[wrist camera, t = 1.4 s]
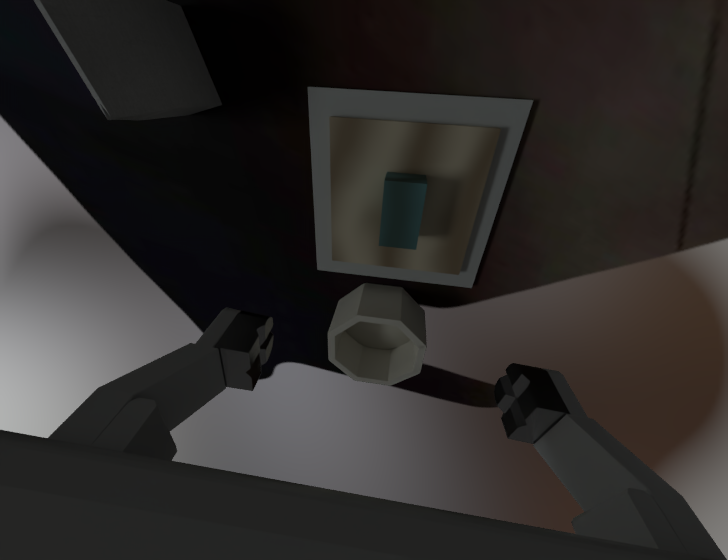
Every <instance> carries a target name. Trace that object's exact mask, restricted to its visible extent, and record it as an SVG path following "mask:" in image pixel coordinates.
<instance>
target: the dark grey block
mask: <svg viewBox="0 0 728 560" xmlns="http://www.w3.org/2000/svg"><path fill="white" fill-rule="evenodd" d="M34 2H35V3H36V5H37V6H38V8H39V10H40V11H41V13H42V14H43V16H44V18H45V19H46V21H47V23H48V24H49V26H50V27H51V29H52V31H53V32H54V34H55V35H56V37H57V39H58V40H59V42H60V44H61V45H62V47H63V48H64V50H65V52H66V53H67V55H68V56H69V58H70V60H71V61H72V63H73V65H74V66H75V68H76V69H77V71H78V73H79V74H80V76H81V77H82V79H83V81H84V82H85V84H86V86H87V87H88V89H89V90H90V92H91V94H92V95H93V97H94V98H95V100H96V102H97V103H98V105H99V107H100V108H101V110H102V111H103V113H104V115H105V116H106V118H107V119H108V120H148V119H157V118H166V117H175V116H184V115H191V114H194V113H197V112H200V111H204V110H207V109H210V108H214V107H217V106H220V105H222V103H221V100H220V98H219V96H218V93H217V91H216V89H215V86H214V84H213V81H212V79H211V77H210V74H209V72H208V69H207V67H206V65H205V62H204V60H203V58H202V55H201V53H200V50H199V48H198V46H197V43H196V41H195V38H194V36H193V34H192V31H191V29H190V27H189V24H188V22H187V19H186V17H185V15H184V12H183V10H182V7H181V6H179V5H177V4H174V3H171V2H168V1H166V0H34Z"/></svg>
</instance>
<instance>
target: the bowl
mask: <svg viewBox="0 0 728 560" xmlns="http://www.w3.org/2000/svg"><path fill="white" fill-rule="evenodd" d="M426 347H427V346H426V328H425V312H424V310H423V309H422V308H421V307H420V306H419V305H418V304H417V303H416V301H415V300H414V299H413V298H412V297H411V296H410V295H409V294H408V293H407V292H406V291H405V290H404V289H403V288H402V287H395V286H387V285H379V284H370V283H364V284H362V285H361V286H360V287H358V288H357V289H355V290H354V291H352V292H351V293H349V294H348V295H346V296H345V297H343V298H342V299H340V300H339V302H338V305H337V308H336V311H335V314H334V317H333V320H332V322H331V325H330V328H329V331H328V354H329V361H331V362H332V363H333V364H334V365H336V366H337V367H338V368H339V369H341V370H342V371H343V372H344V373H346V374H347V375H348V376H349V377H351V378H352V379H353V380H355V381H362V382H368V383H375V384H381V385H388V386H391V385H393V384H395V383H398V382H400V381H403V380H405V379H407V378H410V377H412V376H415V375H417V374H419V373H420V371H421V367H422V363H423V359H424V355H425V351H426Z"/></svg>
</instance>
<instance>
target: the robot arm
mask: <svg viewBox="0 0 728 560" xmlns="http://www.w3.org/2000/svg"><path fill="white" fill-rule="evenodd" d="M272 326H273V319H272V318H271V317H269V316H264V315H259V314H255V313H250V312H246V311H240V310H235V309H230V308H225V309H223V310H222V311H221V312H220V313H219V315H218V316H217V317H216V319H215V320H214V321H213V322H212V324H211V325H210V326H209V327H208V329H207V330H206V331H205V332H204V334H203V335H202V336H201V337H200V339H199V340H198V341H197V343H196V344H192V343H190V344H188V345H186V346H184V347H182V348H180V349H178V350H175V351H173V352H172V353H169V354H167V355H165V356H163V357H161V358H159V359H157V360H155V361H153V362H151V363H149V364H147V365H144V366H142V367H140V368H138V369H136V370H134V371H132V372H130V373H128V374H126V375H124V376H122V377H120V378H118V379H116V380H114V381H111V382H109V383H107V384H105V385H103V386H101V387H99V388H98V389H96V391H94V393H92V395H91V396H90V397H89V398H87V399H86V400H85V402H83V403H82V404H81V405H80V406H79V408H77V409H76V410H75V412H74V413H73V414H71V416H69V417H68V419H66V421H65V422H63V424H61V425H60V426H59V427H58V428H57V430H55V431H54V432H53V434H51V435H50V437H49V438H42V437H37V436H31V435H26V434H20V433H14V432H9V431H4V430H0V560H727V559H726V558H725V556H724V555H723V554H722V552H721V551H720V549H719V548H718V546H717V545H716V543H715V542H714V541H713V539H712V538H711V536H710V535H709V534H708V532H707V531H706V529H705V528H704V526H703V525H702V523H701V522H700V521H699V519H698V518H697V516H696V515H695V513H694V512H693V511H692V509H691V508H690V506H689V505H688V504H687V502H686V501H685V499H684V498H683V497H682V496H681V495H680V494H679V493H678V492H677V491H676V490H674V489H673V488H672V487H671V486H670V485H669V484H668V483H666V482H665V481H664V480H663V479H662V478H661V477H659V476H658V475H657V474H656V473H655V472H654V471H652V470H651V469H650V468H649V467H648V466H647V465H645V464H644V463H643V462H642V461H641V460H640V459H639V458H637V457H636V456H635V455H634V454H633V453H632V452H630V451H629V450H628V449H627V448H626V447H624V445H622V444H621V443H620V442H619V441H618V440H617V439H615V438H614V437H613V436H612V435H611V434H610V433H609V432H607V431H606V430H605V429H604V428H603V427H601V426H600V425H599V424H598V423H597V422H596V421H595V420H594V419H590V418H588V417H587V415H586V413H585V412H584V410H583V408H582V407H581V405H580V403H579V402H578V400H577V398H576V396H575V395H574V393H573V391H572V390H571V388H570V386H569V384H568V383H567V381H566V379H565V378H564V376H563V375H562V374H561V373H560V372H559V371H554V370H548V369H542V368H538V367H532V366H527V365H521V364H516V363H512V364H510V365H509V366H508V367H507V369H506V373H507V375H505V376H503V377H501V378H499V380H498V381H497V383H496V385H495V391H494V393H495V400H496V403H497V406H498V407H499V408H500V409H501V410H502V411H503V415H502V418H501V419H502V422H503V425H504V428H505V432H506V435H507V438H508V439H513V440H517V441H522V442H527V443H531V444H534V445H533V446H534V447H535V448H536V450H537V451H538V452H539V453H540V455H541V456H542V457H543V459H544V460H545V461H546V462H547V464H548V465H549V466H550V468H551V469H552V470H553V471H554V473H555V474H556V475H557V477H558V478H559V479H560V481H561V482H562V483H563V484H564V486H565V487H566V488H567V490H568V491H569V492H570V494H571V495H572V496H573V497H574V499H575V500H576V501H577V502H578V504H579V505H580V506H581V508H582V509H583V510H584V513H582V514H580V515H578V516H577V517H575V518H573V520H572V522H571V523H572V525H573V528H574V530H575V533H576V534H573V533H567V532H562V531H556V530H551V529H545V528H540V527H534V526H528V525H523V524H518V523H512V522H506V521H501V520H496V519H490V518H485V517H479V516H474V515H468V514H463V513H457V512H451V511H446V510H440V509H435V508H429V507H424V506H418V505H413V504H407V503H402V502H396V501H390V500H385V499H380V498H374V497H368V496H363V495H358V494H352V493H347V492H341V491H336V490H330V489H324V488H319V487H314V486H308V485H302V484H297V483H291V482H286V481H280V480H275V479H268V478H264V477H258V476H253V475H247V474H241V473H236V472H231V471H225V470H219V469H213V468H208V467H203V466H197V465H191V464H186V463H181V462H175V461H172V459H173V457H174V455H175V454H176V452H177V449H176V445H175V443H174V441H173V439H172V436H171V435H170V431H171V430H172V429H173V428H175V427H176V426H177V425H179V424H180V423H181V422H183V421H184V420H185V419H187V418H188V417H189V416H191V415H192V414H193V413H194V412H196V411H197V410H198V409H200V408H201V407H202V406H204V405H205V404H206V403H207V402H209V401H210V400H211V399H213V398H214V397H215V396H216V395H218V394H219V393H220V392H222V391H223V390H224V389H225V388H226V387H231V388H237V389H244V390H251V391H253V389H254V387H255V385H256V383H257V381H258V379H259V377H260V375H261V365H263V364H264V363H266V362H267V360H268V358H269V355H270V352H271V349H272V345H273V334H272V333H271V332H270V330H271V328H272Z"/></svg>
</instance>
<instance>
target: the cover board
mask: <svg viewBox="0 0 728 560" xmlns="http://www.w3.org/2000/svg"><path fill="white" fill-rule="evenodd" d="M329 125H330V179H331V233H332V260H333V261H341V262H350V263H359V264H367V265H376V266H385V267H393V268H402V269H411V270H420V271H428V272H437V273H446V274H454V275H459V273H460V270H461V266H462V263H463V259H464V256H465V252H466V249H467V246H468V242H469V239H470V235H471V232H472V228H473V225H474V221H475V218H476V214H477V211H478V207H479V204H480V200H481V197H482V193H483V190H484V186H485V183H486V179H487V176H488V172H489V169H490V166H491V162H492V159H493V155H494V152H495V148H496V145H497V141H498V138H499V134H500V131H501V128H497V127H483V126H468V125H453V124H439V123H424V122H410V121H395V120H381V119H366V118H352V117H337V116H330V117H329Z"/></svg>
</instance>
